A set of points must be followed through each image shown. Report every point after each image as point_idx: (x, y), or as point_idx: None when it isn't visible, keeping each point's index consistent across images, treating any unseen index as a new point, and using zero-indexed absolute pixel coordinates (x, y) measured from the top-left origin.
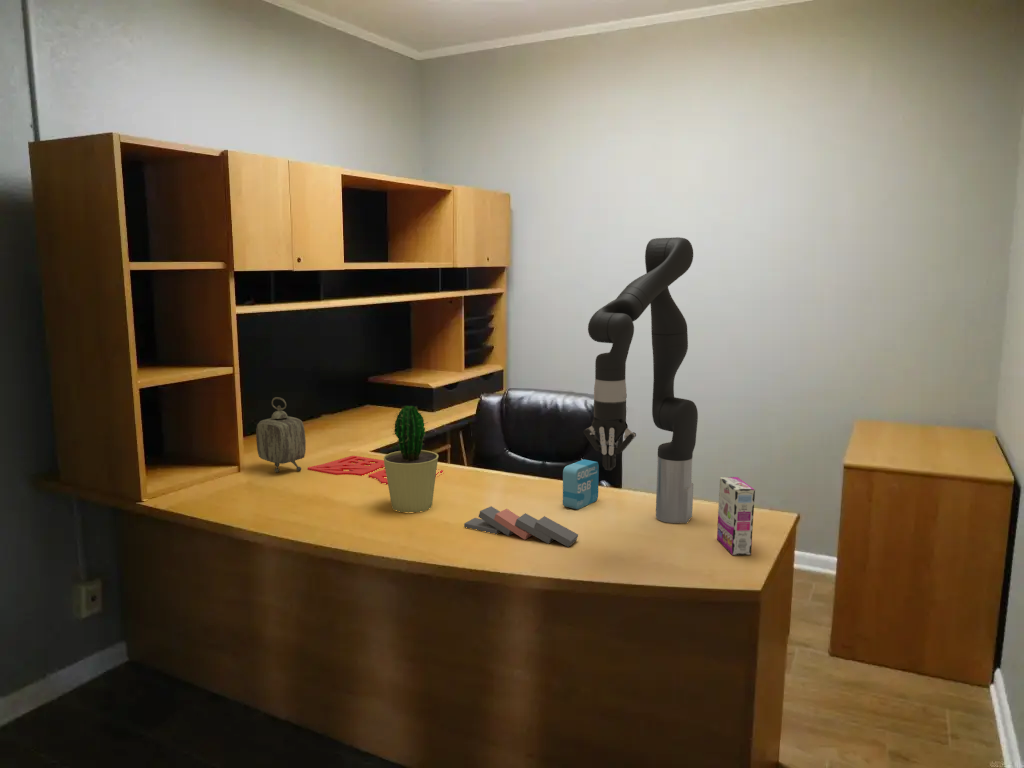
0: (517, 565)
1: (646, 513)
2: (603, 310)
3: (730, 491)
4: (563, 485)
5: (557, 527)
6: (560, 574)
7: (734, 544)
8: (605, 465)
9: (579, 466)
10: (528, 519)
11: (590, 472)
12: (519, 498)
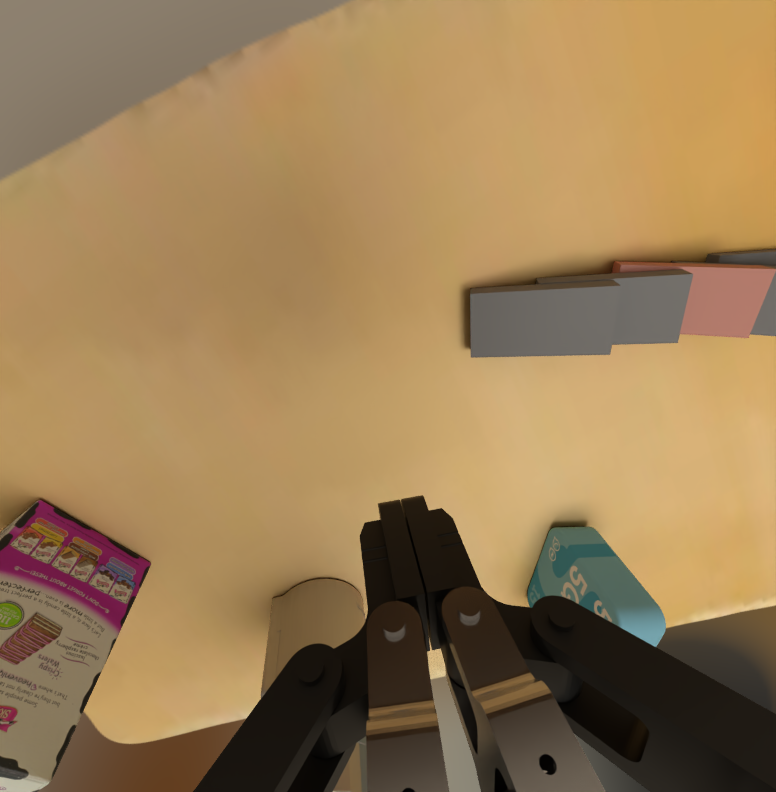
0: (567, 18)
1: None
2: None
3: None
4: (626, 569)
5: (542, 330)
6: (391, 28)
7: (14, 524)
8: (422, 514)
9: None
10: (652, 314)
11: None
12: (706, 510)
